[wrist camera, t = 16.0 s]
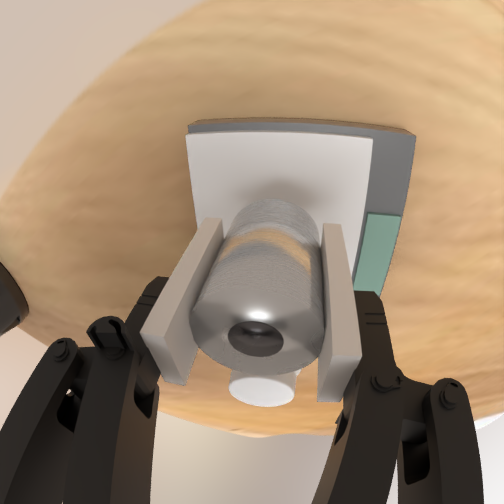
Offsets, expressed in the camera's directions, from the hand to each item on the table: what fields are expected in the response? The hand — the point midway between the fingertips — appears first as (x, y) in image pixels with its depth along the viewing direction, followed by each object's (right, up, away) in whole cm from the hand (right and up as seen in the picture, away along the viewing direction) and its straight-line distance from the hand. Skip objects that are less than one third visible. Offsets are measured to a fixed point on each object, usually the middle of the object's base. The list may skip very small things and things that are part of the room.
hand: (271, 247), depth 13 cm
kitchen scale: (+3, +1, +9) cm, 10 cm away
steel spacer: (0, 0, +1) cm, 1 cm away
